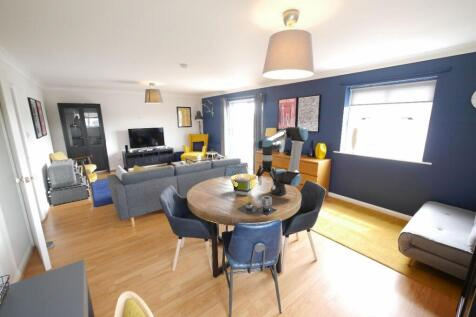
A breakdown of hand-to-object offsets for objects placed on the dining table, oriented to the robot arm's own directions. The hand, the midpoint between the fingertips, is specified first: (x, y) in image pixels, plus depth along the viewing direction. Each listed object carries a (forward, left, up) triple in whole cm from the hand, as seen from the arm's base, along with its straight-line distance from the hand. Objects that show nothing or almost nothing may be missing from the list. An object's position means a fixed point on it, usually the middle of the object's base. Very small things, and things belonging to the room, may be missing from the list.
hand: (266, 187), depth 155 cm
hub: (+8, -11, -20) cm, 24 cm away
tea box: (-12, -40, -20) cm, 46 cm away
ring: (0, 0, -14) cm, 14 cm away
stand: (0, 0, -20) cm, 20 cm away
